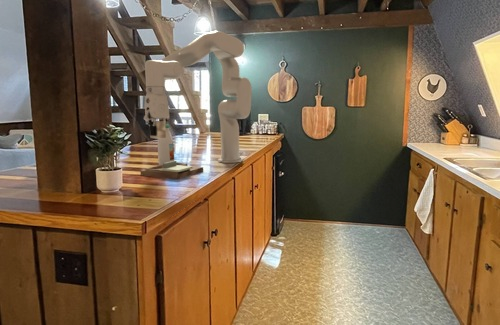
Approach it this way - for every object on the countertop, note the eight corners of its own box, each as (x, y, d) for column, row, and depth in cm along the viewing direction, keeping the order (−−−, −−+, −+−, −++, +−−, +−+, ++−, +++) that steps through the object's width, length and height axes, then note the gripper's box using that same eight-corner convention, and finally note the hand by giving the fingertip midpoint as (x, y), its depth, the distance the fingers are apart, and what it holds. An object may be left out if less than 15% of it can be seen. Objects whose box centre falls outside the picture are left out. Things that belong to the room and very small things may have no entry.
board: (169, 168, 170) (168, 161, 169) (203, 171, 160) (203, 165, 160) (140, 174, 154) (140, 168, 154) (176, 179, 145) (176, 172, 144)
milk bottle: (165, 166, 173) (163, 125, 170) (155, 165, 178) (153, 124, 174) (177, 164, 179) (175, 124, 176) (167, 163, 184) (165, 123, 180)
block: (158, 137, 155) (157, 120, 154) (165, 137, 153) (165, 121, 152) (150, 138, 151) (149, 121, 150) (158, 138, 149) (157, 121, 148)
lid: (176, 166, 156) (175, 160, 155) (192, 168, 151) (192, 161, 151) (161, 170, 148) (161, 163, 148) (178, 172, 144) (178, 165, 143)
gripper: (147, 90, 140) (150, 137, 143) (176, 91, 154) (178, 133, 158) (133, 91, 144) (136, 136, 147) (163, 91, 158) (165, 133, 161)
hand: (158, 134), depth 152 cm, fingers closed on block, 4 cm apart
